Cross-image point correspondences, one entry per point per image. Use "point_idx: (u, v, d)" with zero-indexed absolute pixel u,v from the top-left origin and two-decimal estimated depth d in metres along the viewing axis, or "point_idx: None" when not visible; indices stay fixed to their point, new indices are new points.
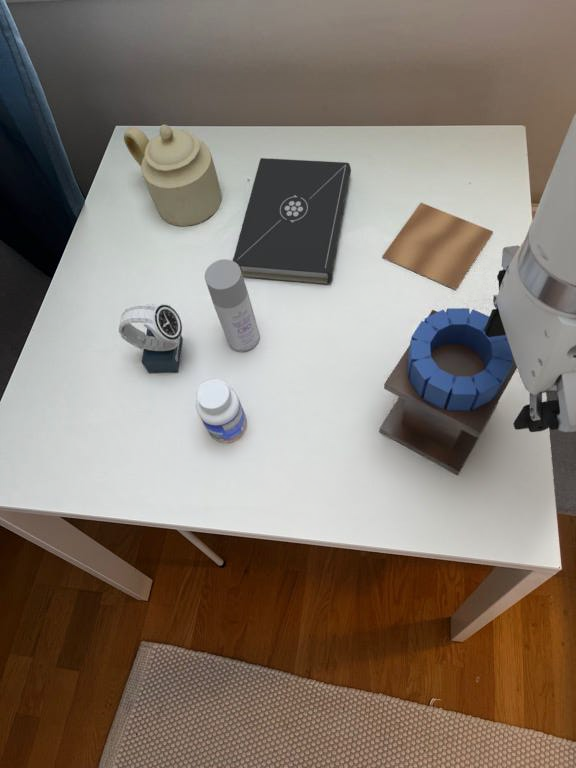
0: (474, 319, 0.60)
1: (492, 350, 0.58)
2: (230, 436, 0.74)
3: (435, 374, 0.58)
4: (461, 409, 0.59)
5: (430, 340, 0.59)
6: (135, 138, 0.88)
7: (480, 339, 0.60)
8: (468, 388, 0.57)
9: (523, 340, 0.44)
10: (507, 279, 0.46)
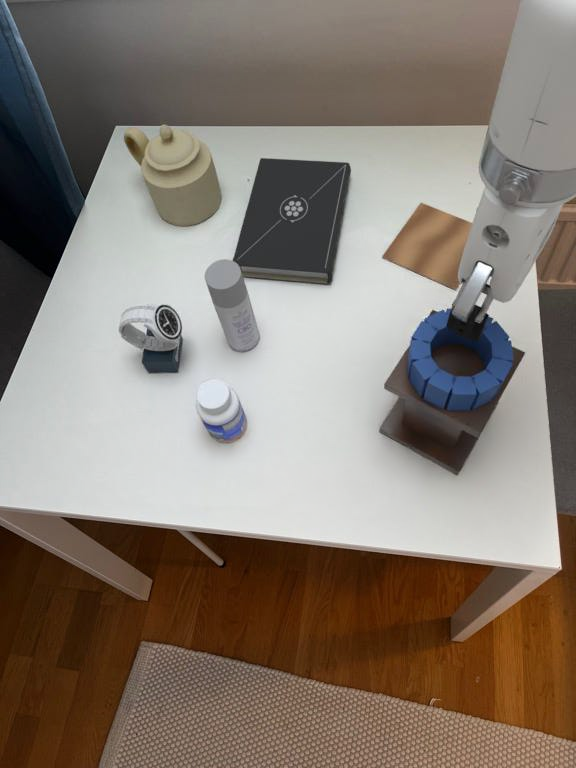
0: None
1: (492, 350, 0.58)
2: (230, 436, 0.74)
3: (435, 374, 0.58)
4: (461, 409, 0.59)
5: (430, 340, 0.59)
6: (135, 138, 0.88)
7: (480, 339, 0.60)
8: (468, 388, 0.57)
9: None
10: None
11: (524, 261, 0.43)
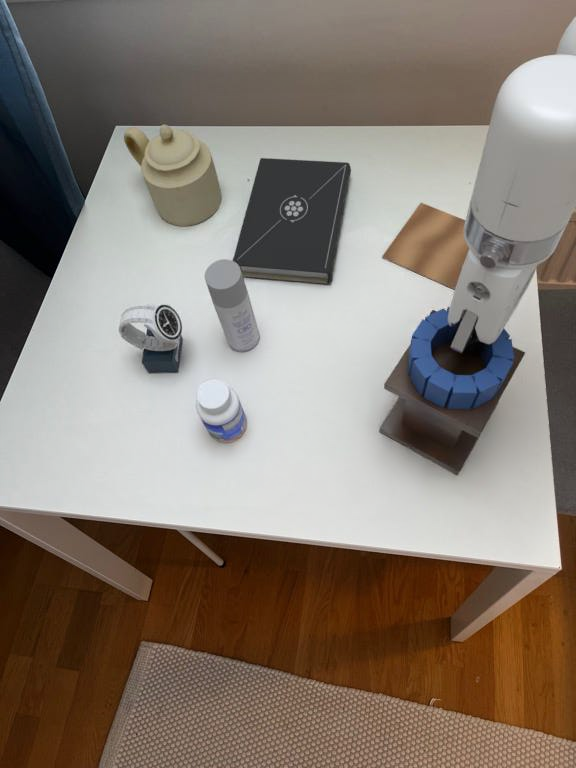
0: None
1: (493, 349, 0.58)
2: (230, 436, 0.74)
3: (436, 373, 0.58)
4: (461, 408, 0.60)
5: (431, 339, 0.59)
6: (135, 138, 0.88)
7: None
8: (468, 386, 0.57)
9: None
10: None
11: (504, 311, 0.49)
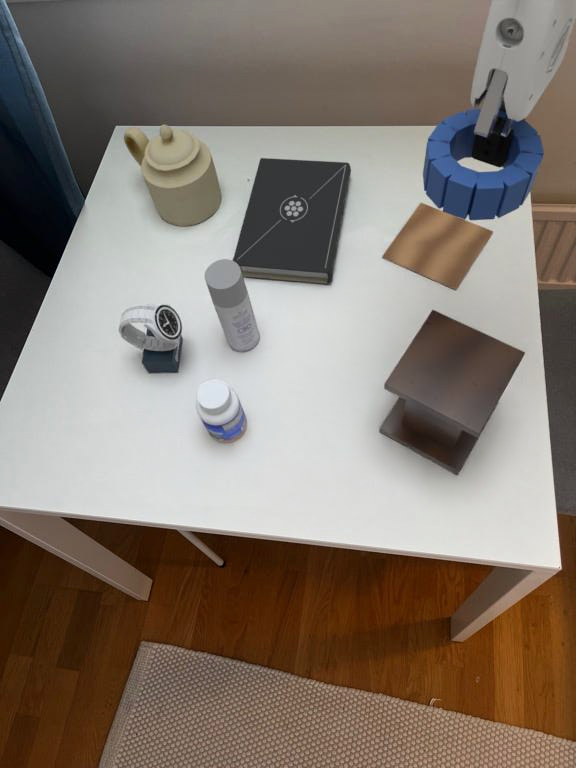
0: None
1: (519, 145, 0.52)
2: (230, 436, 0.74)
3: (457, 172, 0.51)
4: (485, 217, 0.53)
5: (449, 140, 0.53)
6: (135, 138, 0.88)
7: None
8: (494, 182, 0.50)
9: None
10: None
11: (538, 60, 0.43)
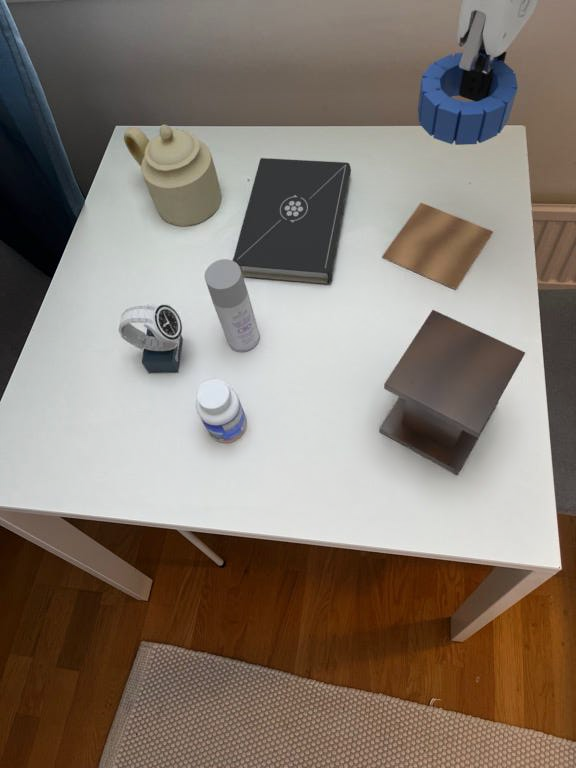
0: None
1: (497, 81, 0.63)
2: (230, 436, 0.74)
3: (445, 102, 0.62)
4: (469, 142, 0.64)
5: (440, 77, 0.64)
6: (135, 138, 0.88)
7: None
8: (475, 109, 0.61)
9: None
10: None
11: (510, 2, 0.54)
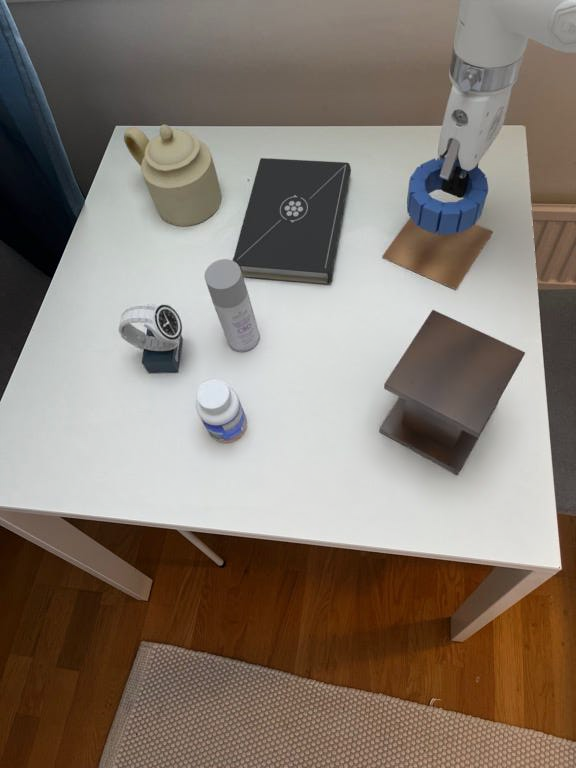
0: (458, 164, 0.78)
1: (472, 184, 0.76)
2: (230, 436, 0.74)
3: (429, 202, 0.75)
4: (449, 232, 0.77)
5: (424, 179, 0.77)
6: (135, 138, 0.88)
7: None
8: (453, 209, 0.74)
9: None
10: None
11: (478, 135, 0.67)
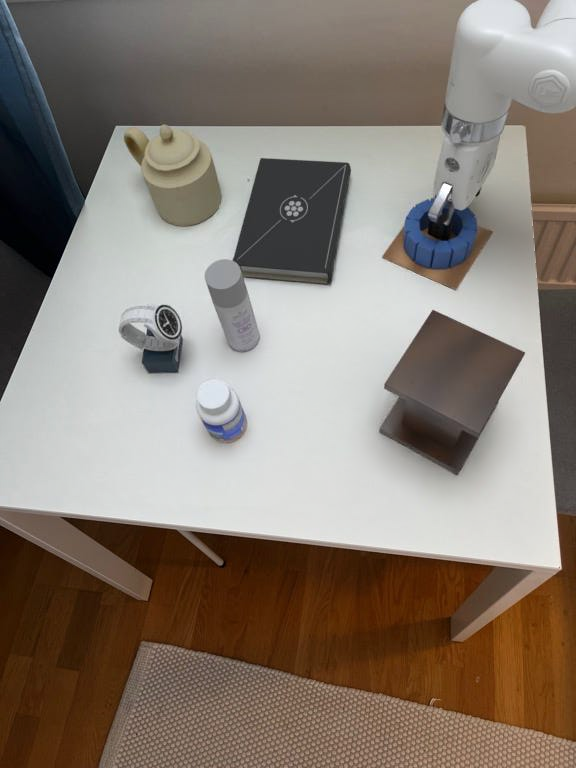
0: None
1: (462, 223, 0.83)
2: (230, 436, 0.74)
3: (423, 240, 0.82)
4: (441, 268, 0.84)
5: (419, 219, 0.84)
6: (135, 138, 0.88)
7: (455, 219, 0.85)
8: (445, 248, 0.81)
9: None
10: None
11: (469, 180, 0.73)
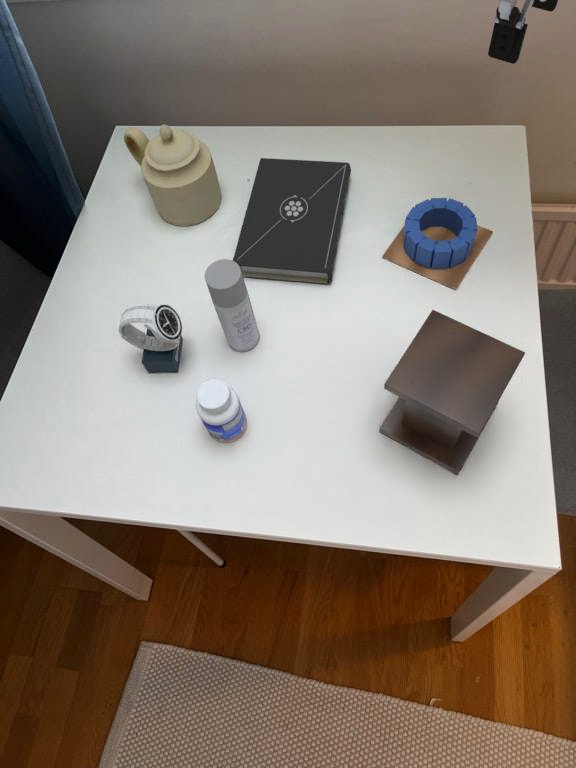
0: (450, 204, 0.84)
1: (462, 223, 0.83)
2: (230, 436, 0.74)
3: (423, 240, 0.82)
4: (441, 268, 0.84)
5: (419, 219, 0.84)
6: (135, 138, 0.88)
7: (455, 219, 0.85)
8: (445, 248, 0.81)
9: None
10: None
11: None
